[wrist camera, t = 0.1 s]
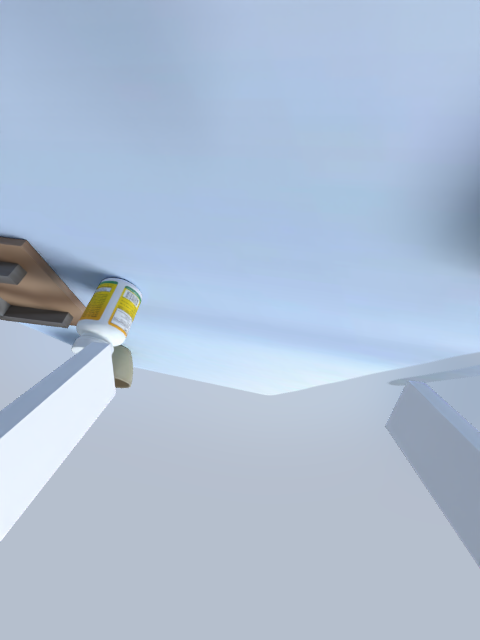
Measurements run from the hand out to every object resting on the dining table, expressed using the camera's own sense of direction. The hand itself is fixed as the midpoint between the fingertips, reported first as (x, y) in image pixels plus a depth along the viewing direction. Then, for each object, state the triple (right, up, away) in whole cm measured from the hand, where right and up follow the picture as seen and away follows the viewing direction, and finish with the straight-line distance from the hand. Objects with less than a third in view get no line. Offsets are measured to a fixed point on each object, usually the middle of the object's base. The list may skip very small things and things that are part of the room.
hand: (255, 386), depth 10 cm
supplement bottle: (-17, +7, +21) cm, 28 cm away
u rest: (-32, +8, +22) cm, 40 cm away
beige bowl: (-27, -3, +40) cm, 48 cm away
